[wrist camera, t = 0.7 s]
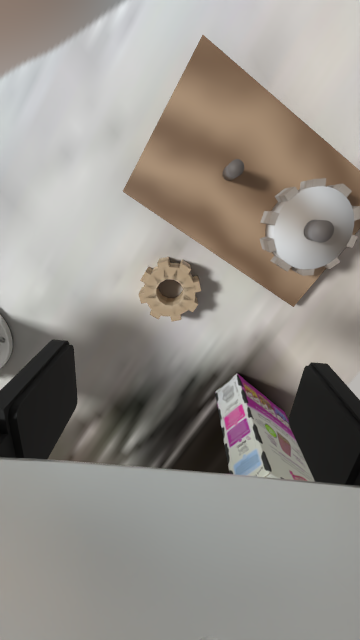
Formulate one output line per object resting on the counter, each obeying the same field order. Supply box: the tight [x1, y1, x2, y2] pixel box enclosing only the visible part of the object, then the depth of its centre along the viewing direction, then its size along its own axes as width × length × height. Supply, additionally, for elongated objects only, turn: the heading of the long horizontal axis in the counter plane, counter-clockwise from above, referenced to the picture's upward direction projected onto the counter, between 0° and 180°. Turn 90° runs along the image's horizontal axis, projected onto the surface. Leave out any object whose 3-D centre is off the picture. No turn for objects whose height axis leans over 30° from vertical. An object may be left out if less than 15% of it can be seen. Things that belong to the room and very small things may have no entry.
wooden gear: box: [139, 257, 201, 321], centre depth 34 cm, size 7×7×3 cm
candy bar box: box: [215, 373, 315, 482], centre depth 34 cm, size 11×5×16 cm, turn 48°
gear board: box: [123, 35, 360, 307], centre depth 28 cm, size 15×24×7 cm, turn 57°
